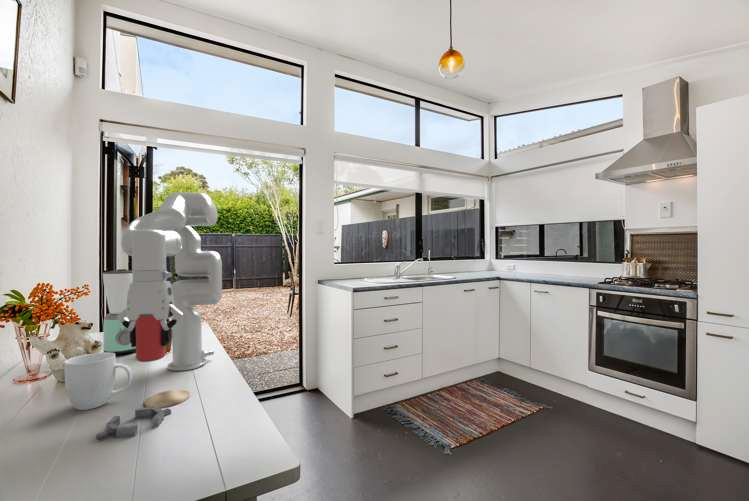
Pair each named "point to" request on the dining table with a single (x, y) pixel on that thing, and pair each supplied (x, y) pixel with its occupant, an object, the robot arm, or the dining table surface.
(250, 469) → the dining table surface
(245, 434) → the dining table surface
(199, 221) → the robot arm
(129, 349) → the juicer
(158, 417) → the collar
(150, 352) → the beer can
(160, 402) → the disc
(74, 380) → the mug
